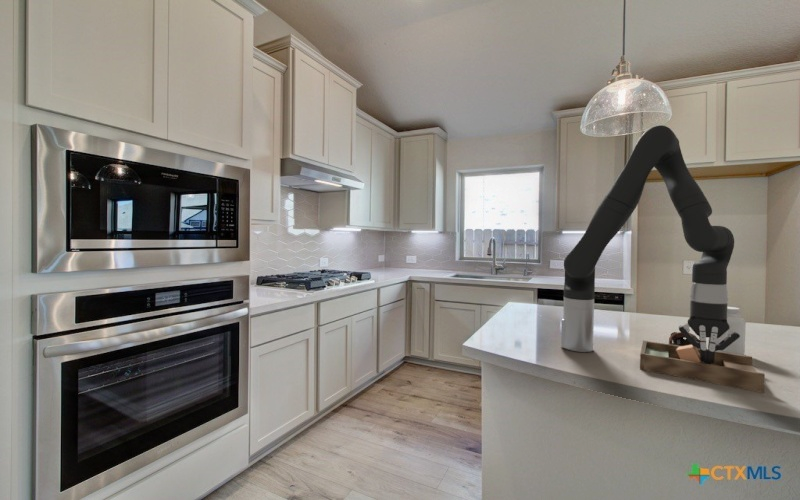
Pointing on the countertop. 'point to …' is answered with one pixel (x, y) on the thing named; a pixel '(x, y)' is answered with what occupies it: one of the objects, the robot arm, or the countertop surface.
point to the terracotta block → (689, 353)
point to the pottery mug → (681, 339)
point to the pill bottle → (737, 326)
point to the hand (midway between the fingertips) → (706, 363)
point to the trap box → (702, 367)
